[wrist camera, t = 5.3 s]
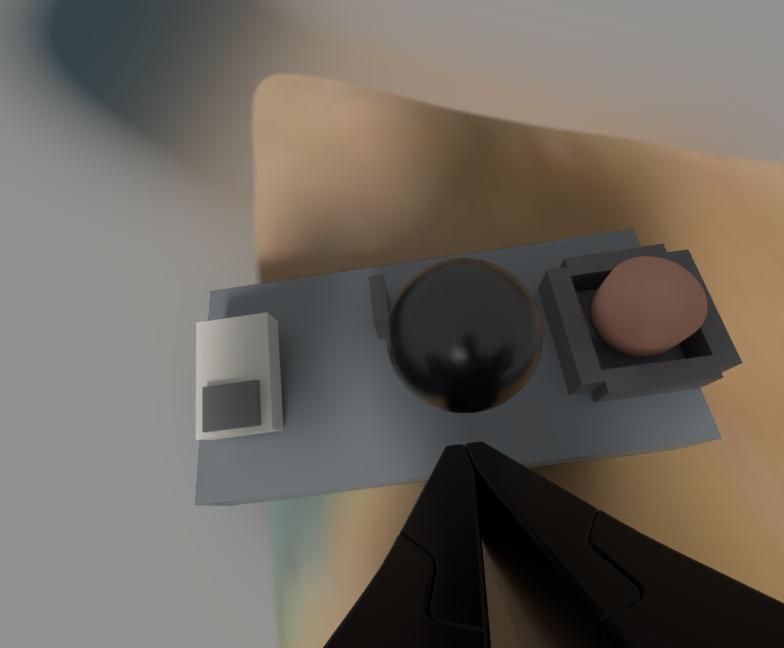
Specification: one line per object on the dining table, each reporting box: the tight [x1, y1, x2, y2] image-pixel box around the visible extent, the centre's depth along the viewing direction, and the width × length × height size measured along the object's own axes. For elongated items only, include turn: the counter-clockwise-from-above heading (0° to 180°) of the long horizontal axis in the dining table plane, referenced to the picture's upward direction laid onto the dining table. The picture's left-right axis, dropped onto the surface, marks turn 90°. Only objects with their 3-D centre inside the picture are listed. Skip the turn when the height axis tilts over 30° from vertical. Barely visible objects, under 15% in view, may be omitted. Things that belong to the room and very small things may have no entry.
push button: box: [589, 256, 708, 358], centre depth 15 cm, size 3×3×2 cm
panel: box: [195, 229, 742, 506], centre depth 18 cm, size 9×20×5 cm, turn 97°
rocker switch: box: [196, 312, 283, 440], centre depth 16 cm, size 4×3×2 cm, turn 7°
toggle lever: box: [386, 258, 543, 413], centre depth 11 cm, size 2×2×12 cm
